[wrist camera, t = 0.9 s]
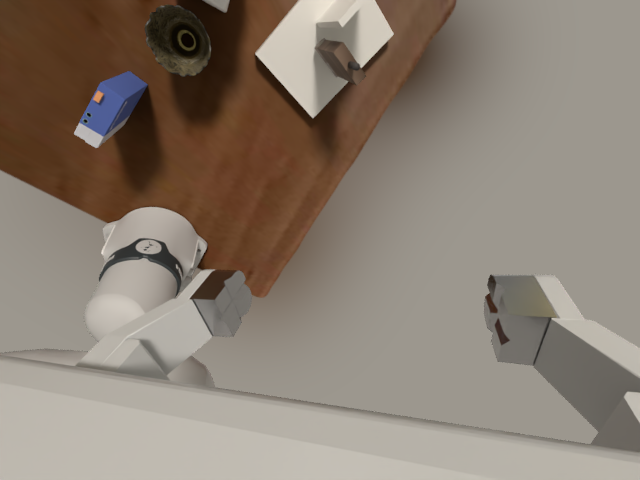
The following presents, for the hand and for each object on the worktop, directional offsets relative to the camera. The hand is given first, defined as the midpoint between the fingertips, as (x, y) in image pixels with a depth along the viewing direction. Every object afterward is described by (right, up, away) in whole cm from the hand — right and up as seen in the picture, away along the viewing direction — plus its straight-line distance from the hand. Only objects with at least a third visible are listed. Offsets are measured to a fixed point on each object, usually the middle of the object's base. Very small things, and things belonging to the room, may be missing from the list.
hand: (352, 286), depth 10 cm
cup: (-21, +31, +33) cm, 49 cm away
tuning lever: (0, +30, +36) cm, 47 cm away
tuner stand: (-1, +33, +37) cm, 49 cm away
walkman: (-31, +24, +35) cm, 52 cm away
